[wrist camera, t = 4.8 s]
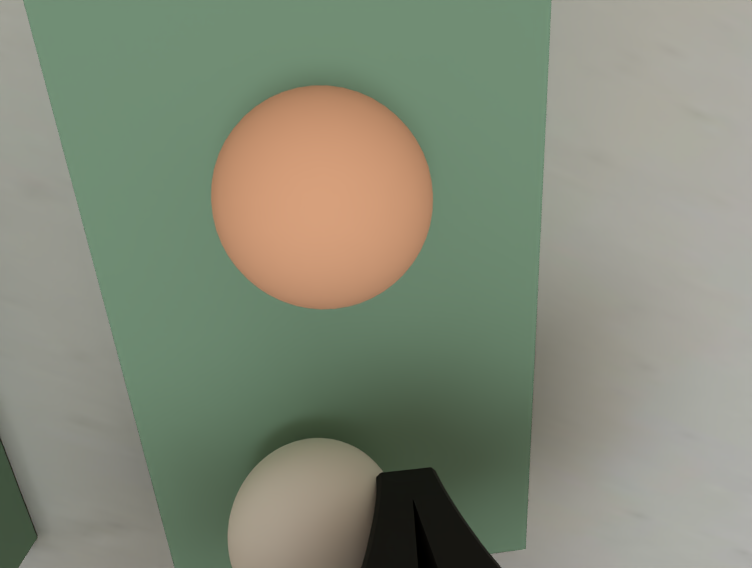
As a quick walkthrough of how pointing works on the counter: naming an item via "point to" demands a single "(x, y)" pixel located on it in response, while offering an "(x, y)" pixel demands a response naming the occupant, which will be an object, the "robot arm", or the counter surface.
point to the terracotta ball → (321, 197)
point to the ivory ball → (305, 508)
